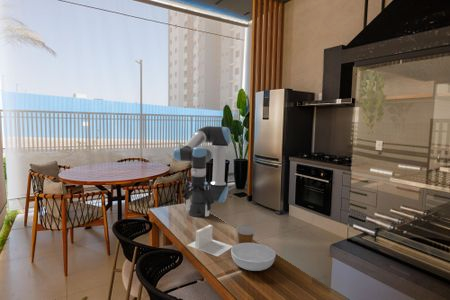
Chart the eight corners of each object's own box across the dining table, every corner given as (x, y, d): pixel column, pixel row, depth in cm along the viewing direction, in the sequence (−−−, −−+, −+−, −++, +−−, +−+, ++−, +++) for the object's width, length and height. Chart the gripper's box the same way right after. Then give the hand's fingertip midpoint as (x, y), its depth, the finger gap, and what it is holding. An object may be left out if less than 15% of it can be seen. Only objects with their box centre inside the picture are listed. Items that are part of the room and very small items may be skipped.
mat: (204, 237, 157) (204, 236, 157) (233, 247, 146) (233, 246, 146) (187, 246, 145) (187, 245, 145) (217, 257, 134) (217, 256, 134)
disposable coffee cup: (255, 248, 147) (257, 226, 146) (249, 255, 138) (251, 232, 137) (239, 244, 150) (240, 223, 149) (232, 251, 142) (234, 228, 141)
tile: (208, 240, 153) (209, 224, 152) (212, 241, 151) (212, 225, 151) (194, 247, 143) (195, 230, 142) (198, 248, 141) (199, 231, 141)
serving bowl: (284, 271, 124) (285, 256, 124) (246, 282, 114) (247, 266, 113) (256, 251, 142) (257, 239, 142) (222, 259, 132) (223, 246, 131)
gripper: (176, 173, 152) (175, 210, 154) (213, 179, 139) (211, 220, 141) (185, 171, 158) (184, 207, 160) (221, 177, 145) (219, 216, 147)
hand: (197, 213), depth 150 cm, fingers open, 13 cm apart
